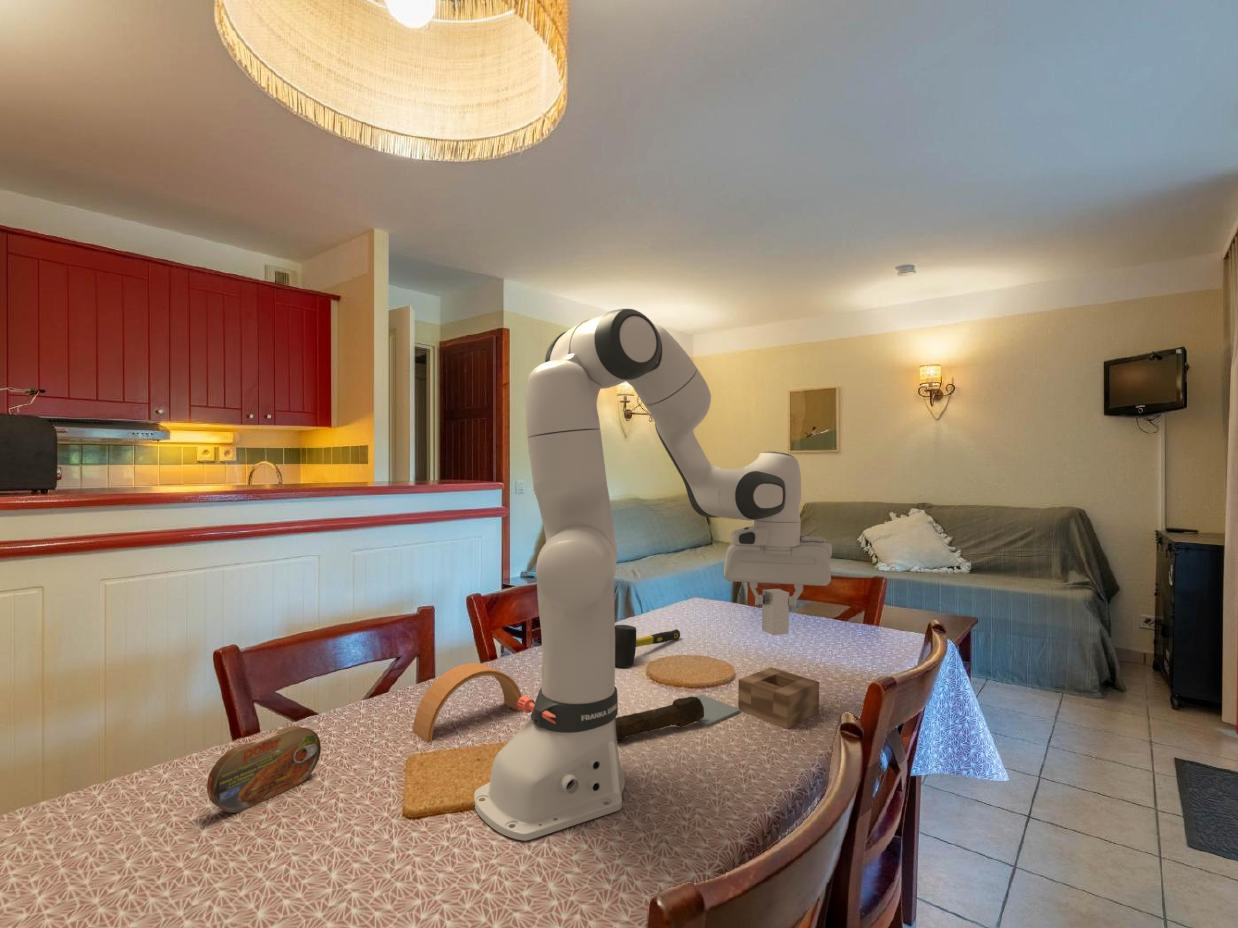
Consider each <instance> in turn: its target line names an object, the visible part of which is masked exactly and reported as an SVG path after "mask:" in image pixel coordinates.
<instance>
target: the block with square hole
mask: <svg viewBox="0 0 1238 928" xmlns="http://www.w3.org/2000/svg"><path fill="white" fill-rule="evenodd" d="M737 691H738V693H737V694H738V696H737V697H738V701H737V702H738V705H737V708H738V709H741V712H743V713H746V714H748V715H750V716H753V717H756V718H758V719H760V720H763V721H765V722H769V723H771V724H774V725H776V726H779V727H780V728H784V729H785V730H787V729H789V728H792V727H793V726H796V725H798V724H799V723H802V722H803V721H806V720H807V719H810V718H811V717H813V716H815V715H817V714H819V713H820V681H817V680H814V679H811V678H807V677H805V676H801V675H797V674H796V673H795V674H794V673H792V672H789V671H785V670H781V669H779V668H776V667H773V666H770V667H768V668H765V669H763V670H759V671H757V672H754V673H752V674H749V675H747V676H744V677H741V678H739V679H738V690H737Z"/></svg>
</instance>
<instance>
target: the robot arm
mask: <svg viewBox="0 0 1238 928" xmlns="http://www.w3.org/2000/svg"><path fill="white" fill-rule="evenodd" d="M706 381H707V380H705V378H704V376H703V375H702V374H701V372H700V370H699V369H698V367H697V366H696V365H695V363H694V361H693V360H692V359H691V357H690V356H689V355H688V353H687V352H686V350H685V349H684V348H683V347H682V346H681V345H680V343H679V342H678V341H677V340H676V339H675V338H674V337H673V336H672V335H671V334H670V333H669V332H668V331H667V330H666V329H665V328H664V327H662V326H660V325H657V324H654V323H653V322H652V320H650V319H649V318H648V317H647V316H646V315H645V314H644V313H642V312H641V311H639V310H636V309H633V308H618V309H614V310H610V311H608V312H606V313H605V314H603V315H599V316H597V317H593V318H589V319H586V320H583V321H581V322H580V323H578V324H576V325H575V326H572V327H571V328H570V329H569V330H566V331H563V332H561V333H559V335H558V336H557V337H555V338H554V340H553V341H552V342H551V343H550V345H549V346H548V348H547V351H546V353H545V358H544V362H543V363H541V364H539V365H537V366H536V367H535V368H533V370H532V371H531V372H530V374H529V375H528V379H527V383H526V393H525V396H526V397H525V424H526V433H527V443H528V453H529V454H528V455H529V460H530V462H529V463H530V468H531V469H530V470H531V477H532V484H533V491H534V495H535V497H536V500H537V505H538V508H539V513H540V517H541V521H542V522H541V523H542V526H543V530H544V536H545V537H544V538H545V543H544V544H543V546H542V547H541V548H540V551H539V553H538V556H537V558H536V559H537V560H536V564H535V565H536V566H535V567H536V568H535V576H536V577H535V578H536V592H537V603H538V604H537V606H538V615H539V623H540V624H539V625H540V630H541V631H540V633H541V634H540V635H541V688H540V689H539V691H538V693H537V696H536V698H535V700H534V699H532V698H530V697H528V695H522V697H520V700H519V701H518V702H519V703H518V704H517V705H519V706H518V708H519V709H521V711H524V713H526V714H530V713H531V714H530V719H529V720H528V721H527V722H526V723H525V724H524V725H523V726H522V727H521V728H520V729H519V731H518V732H517V733H515V735H514V736H513V737H512V738H511V739H510V740H509V741H508V742H507V743H506V744H505V745H504V746H503V747H502V749H500V750H499V751H498V753H496V755H495V757H494V760H493V763H492V766H491V773H490V778H489V782H487V783H485V784H483V785H482V786H480V787H478V788H476V790H475V791H474V794H473V802H474V801H475V807H474V809H475V812H476V813H477V814H478V816H479V817H480V818H481V819H482V820H483V821H484V822H485V823H486V824H487V825H488V826H489V827H491V828H492V829H493V830H494V831H496V832H498V833H500V834H501V835H503V836H506V837H508V838H510V839H514V840H518V841H526V842H527V841H531V840H534V839H536V838H540V837H543V836H546V835H548V834H549V835H550V834H551V833H555V832H558V831H560V830H564V829H566V828H567V829H568V828H569V827H574V826H576V825H579V824H582V823H585V822H587V821H591V820H594V819H597V818H599V817H600V818H601V817H603V816H606V815H609V814H612V813H616V812H618V811H620V810H621V809H622V808H623V798H622V793H623V792H624V789H625V786H626V779H625V776H624V773H623V769H622V765H621V759H620V754H619V753H620V752H619V748H618V747H619V746H618V741H617V737H616V723H615V718H617V717H618V713H619V711H618V709H619V703H618V701H619V699H618V698H619V696H618V688H617V687H616V686H615V685H616V666H615V625H616V621H615V616H616V615H615V614H616V613H615V576H616V575H615V573H616V566H617V561H618V548H617V540H616V533H615V528H614V527H615V526H614V521H613V520H614V519H613V514H612V506H611V500H610V493H609V489H608V488H609V487H608V481H607V474H606V465H605V464H606V463H605V456H604V447H603V441H602V430H601V424H600V417H599V416H600V415H599V411H598V406H597V404H598V398H599V393H600V391H601V389H610V388H613V387H616V386H618V385H621V384H623V383H625V382H626V383H627V384H629V385H630V386H631V387H632V389H634V391H635V394H636V395H637V396H638V398H639V400H640V401H641V402H642V404H643V405H644V406H645V408H646V409H647V411H648V412H649V414H650V415H651V418H652V420H653V422H654V426H655V431H656V434H657V435H658V438H659V440H660V441H661V444H662V446H663V448H664V449H665V451H666V453H667V454H668V456H669V458H670V460H671V461H672V463H673V465H674V466H675V469H676V471H677V473H679V475H680V477H681V480H682V482H683V483H684V486H685V489H686V493H687V497H688V500H689V502H690V505H691V507H692V508H693V510H694V511H695V512H696V513H697V514H698V515H700V516H702V517H703V518H708V519H709V518H718V519H719V518H720V519H721V518H723V519H731V520H740V521H741V520H742V521H748V522H749V521H753V525H749V526H745V527H741V528H739V529H735V530H733V531H732V532H731V534H730V540H731V543H730V544H729V545H728V547H727V549H726V552H725V558H724V565H723V577H724V578H725V580H726V581H728V582H737V583H738V582H739V583H740V582H741V583H749V588H750V590H751V592H752V594H753V596H754V604H755V606H763V594H759V593H758V592H757V590H756V589H757V588H758V583H762V584H782V585H783V584H784V585H793V588H794V589H795V591H794V592H793V594H792V595H791V596H789V608H797V606H798V605H797V604H798V599H799V597H800V595H802V593H803V592H804V586H822V587H823V586H824V587H825V586H828V585H829V584H830V583H831V581H832V575H831V574H832V573H831V572H832V571H831V564H830V559H831V558H832V555H833V545H832V543H831V542H830V540H828V539H825V537H823V536H809V535H808V536H807V535H801V525H802V524H801V521H802V520H801V515H800V510H799V508H800V503H801V500H802V477H801V476H802V475H801V468H800V464H799V460H798V459H797V457H796V456H794V455H791V454H789V453H785V452H779V451H778V452H777V451H764V452H761V453H759V455H758V457H757V458H756V459H755V460H753V461H752V462H751V463H750V464H747V465H745V466H743V467H741V468H723V467H719V466H716V465H715V464H713V463H711V462H710V461H709V460H708V458H707V456H706V453H704V450H703V448H702V447H701V445H700V442H699V441H698V440H697V437H696V435H695V432H694V429H696V428H697V427H698V425H699V424H700V423H701V422H702V421H703V420H704V419H705V418H706V416H707V415H708V413H709V410H710V407H711V402H712V395H711V392H710V391H711V390H710V388H709V386H708V383H707V382H706ZM481 799H484V801H479V800H481Z"/></svg>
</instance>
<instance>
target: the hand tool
mask: <svg viewBox="0 0 1238 928" xmlns="http://www.w3.org/2000/svg"><path fill="white" fill-rule="evenodd" d="M703 717H704V707H703V705H702V703H701V700H700V699H699V698H697V697H696V696H687V697H682V698H676V699H674V700H673V702H672V704H669V705H666V706H663V707H658V708H653V709H649V710H645V711H641V712H634V713H631V714H627V715H622V716H616V717H615V723H616V737H617V742H618V741H619V740H624V741H625V740H626V739H627V737H632V736H635V735H638V734H639V735H640V734H643V733H647V732H652V731H656V730H660V729H663V728H667V727H670V726H676V727H679V728H684V727H687V726H690V725H692V724H694V723H697V722H696V721H698V720H700V719H702V718H703Z"/></svg>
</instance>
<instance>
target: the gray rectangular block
mask: <svg viewBox="0 0 1238 928" xmlns="http://www.w3.org/2000/svg"><path fill="white" fill-rule="evenodd" d="M762 595H763V606H762V607H761V608H762V609H761V610H762V613H761V614H762V615H761V616H762V617H761V631H763V632H765V633H766V634H769V635H771V636H779V635H781V636H782V635H789V627H790V626H789V625H790V624H789V623H790V622H789V621H790V620H789V617H790V616H789V615H790V607H789V597H790V592H789V591H785V590H783V589H781V588H770V589H762Z"/></svg>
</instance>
